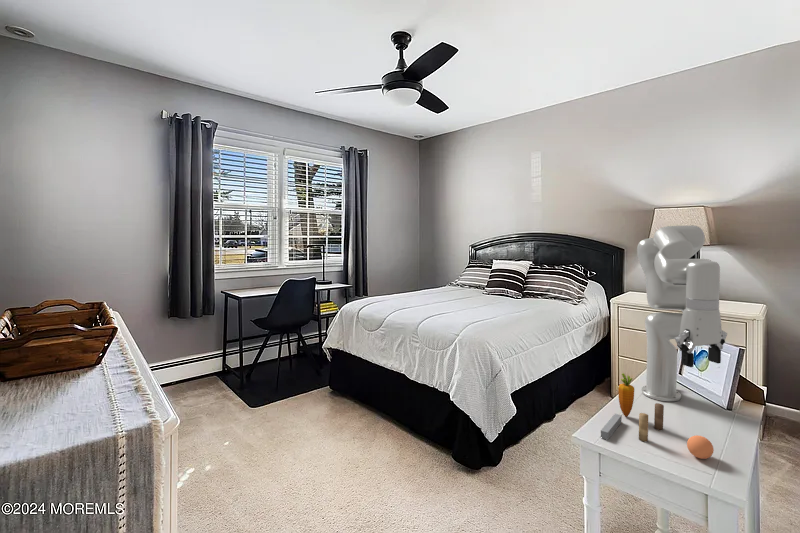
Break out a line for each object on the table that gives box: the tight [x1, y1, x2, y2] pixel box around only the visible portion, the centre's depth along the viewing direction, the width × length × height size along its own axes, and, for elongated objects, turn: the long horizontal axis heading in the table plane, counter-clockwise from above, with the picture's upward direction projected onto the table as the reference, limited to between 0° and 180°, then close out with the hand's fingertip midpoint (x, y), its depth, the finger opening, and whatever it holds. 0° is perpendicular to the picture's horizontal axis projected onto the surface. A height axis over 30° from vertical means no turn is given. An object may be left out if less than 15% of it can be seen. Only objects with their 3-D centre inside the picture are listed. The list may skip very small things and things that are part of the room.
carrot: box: [617, 372, 635, 418], centre depth 136 cm, size 5×5×15 cm
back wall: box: [600, 413, 623, 441], centre depth 129 cm, size 14×2×2 cm, turn 135°
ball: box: [686, 434, 715, 460], centre depth 112 cm, size 6×6×6 cm
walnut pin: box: [653, 402, 665, 432], centre depth 128 cm, size 2×2×8 cm
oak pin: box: [638, 412, 649, 443], centre depth 122 cm, size 2×2×8 cm
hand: (700, 363), depth 114 cm, fingers open, 9 cm apart
